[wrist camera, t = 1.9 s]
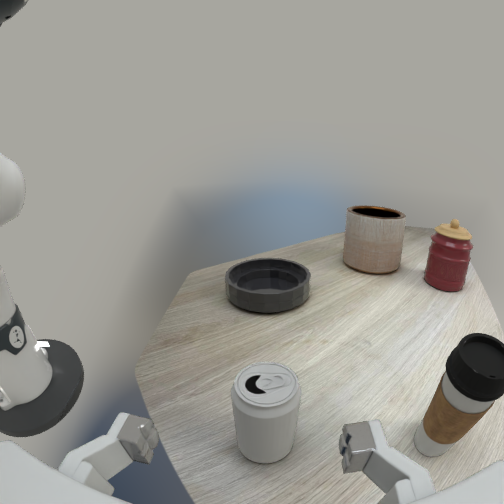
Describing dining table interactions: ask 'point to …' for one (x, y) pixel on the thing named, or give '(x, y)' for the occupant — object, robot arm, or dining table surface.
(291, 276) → the grey shallow round dish
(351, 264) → the planter
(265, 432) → the beverage can
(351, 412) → the dining table surface
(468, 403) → the coffee cup
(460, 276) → the kitchen canister
